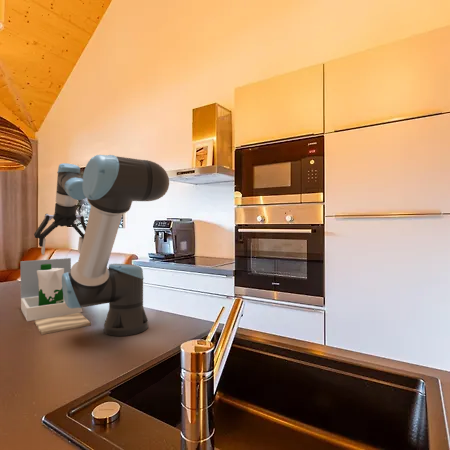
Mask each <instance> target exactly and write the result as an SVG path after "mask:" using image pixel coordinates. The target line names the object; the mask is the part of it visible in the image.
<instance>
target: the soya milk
mask: <svg viewBox="0 0 450 450" xmlns="http://www.w3.org/2000/svg"><path fill="white" fill-rule="evenodd" d="M63 274H64V268H51V264H42V265H41V269H40V270H38V271H37V275H38V280H39V306H43V305H50V304H57V303H63V289H62V275H63Z"/></svg>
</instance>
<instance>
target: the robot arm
mask: <svg viewBox="0 0 450 450" xmlns="http://www.w3.org/2000/svg"><path fill="white" fill-rule="evenodd" d="M169 186H170V178H169V175H168V173H167V171H166V170H165V168H163V166H161V165H160V164H158V163H157V162H156V161H155V162H154V161H152V160H148V159H147V160H146V159H137V158H131V157H130V158H129V157H125V156H117V155H113V154H106V155H105V154H96V155H94V156H92V157H91V158H90V159H89V160H88V162H87V163H86V165H85V168H84V170H83V176H81V168H80V166H79V165H77V164H73V163H67V162H65V163H64V162H63V163H60V164H58V169H57V182H56V192H55V205H54V214H48V213H45V215H44V218H43V220H42V221H41V223H40V224H39V226H38V228H37V229H36V231H35V232H34V233H33V235H34V238H35V239H38V246H39V247H40V248H41V250H40V251H41V252H40V253H41V255H42V256H45V252H46V237H47V236H48V235H49V234H51V232H53V231H54V230H55V229H56V228H58V227H70V226H71V227H72V228H73V229H74V230H75V231H76V232H77V234H79V236H78V244H77V252H78V254H79V256H78V260H77V262H74V264H73V265H71V271H70V273H69V272H66V273H64V274H63V275H62V289H63V295H64V300H65V303H66V305H67V307H69V308H71V309H73V308H82V309H83V308H88V307H93V306H98V305H99V306H100V305H105V304H108V312H107V314H106V318H105V321H104V324H103V332H104V333H105V334H106V335H108V336H114V337H126V336H131V335H132V336H133V335H137V334H141V333H143V332H145V331H147V329H148V328H149V319H148V317H147V314H146V311H145V308H144V279H145V278H144V272H143V268H142V267H141V266H140V265H136V264H126V263H110V264H109V261H110V257H111V254H112V252H113V248H114V245H115V240H116V237H117V235H118V230H119V227H120V225H121V221H122V217H123V214H124V215H125V214H126V213H128V212H129V211H130V209H131V207H132V203H133V202H153V201H156V200H159V199H162V198H163V197H164V196H165V195H166V193H168V190H169ZM85 199H87V203H88V204H89V205H90V210H89V215H88V218H87V223H85V217H84V215H83V214H79V215H77V208H78V207H77V204H78V201H83V200H85ZM52 220H53V221H52ZM77 220H78V221H79V222H80V224H81V226H82V229H83V230H84V231H82V230H81V229H80V228H79V226H78V225H76V223H75V222H76V221H77ZM50 221H52V222H51V224H50V225H49V226H48V227H47V225H48V223H49V222H50ZM108 264H109V265H108Z"/></svg>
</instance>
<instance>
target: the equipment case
mask: <svg viewBox="0 0 450 450" xmlns="http://www.w3.org/2000/svg"><path fill="white" fill-rule="evenodd" d="M19 263H20V310H21V312H22V314H23V316H24V319H25V320H26V322H30V321H31V322H32V321H35V320H39V319H45V318H51V317H57V316H63V315H69V314H75V313H80V314H81V313H82V312H83V307H82V308H73V309H71V308H69V307H67V305H66V303H65V300H64V295H63V303H57V304H50V305H43V306H39V280H38V275H37V271H38V270H40V269H41V265H42V264H51V268H64V273H66V272H69V273H70V271H71V268H72V265H71V264H72V258H71V257H66V258H52V259H35V260H24V261H23V260H22V261H19Z"/></svg>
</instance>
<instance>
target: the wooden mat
mask: <svg viewBox="0 0 450 450" xmlns="http://www.w3.org/2000/svg"><path fill="white" fill-rule="evenodd" d="M34 324H35V326H36V328H37V330H38V331H39V333H40V335H47V334H52V333H58V332H62V331H67V330H73V329H80V328H85V327H88V326H91V325H92V323H91V321H90V320H88V319H87V318H86V317H85V316H84V315H83V314H82V313H81V312H80V313H74V314H68V315H62V316H56V317H50V318H44V319H38V320H34Z"/></svg>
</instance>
